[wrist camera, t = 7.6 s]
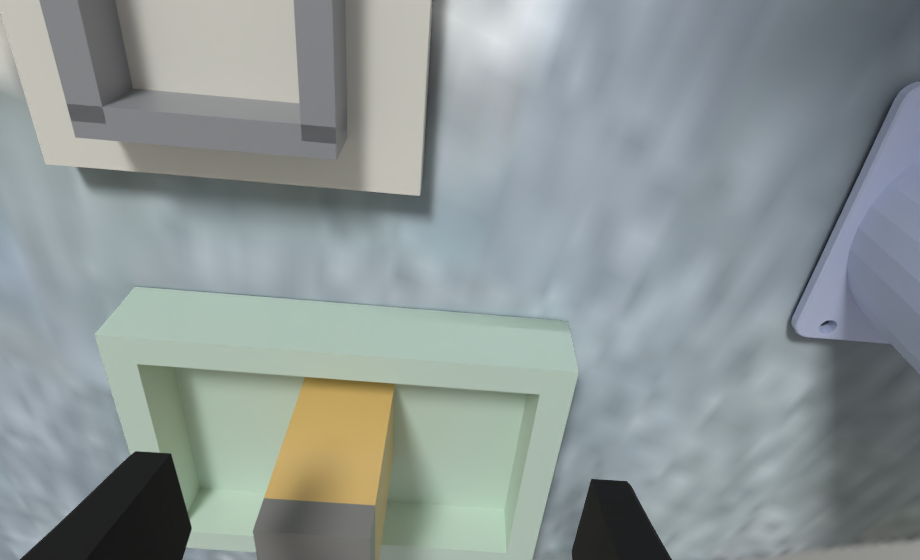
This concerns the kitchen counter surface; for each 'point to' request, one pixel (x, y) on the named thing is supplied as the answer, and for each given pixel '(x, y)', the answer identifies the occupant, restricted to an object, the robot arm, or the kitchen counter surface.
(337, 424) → the block
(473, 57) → the kitchen counter surface
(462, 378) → the parts tray
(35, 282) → the kitchen counter surface
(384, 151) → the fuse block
